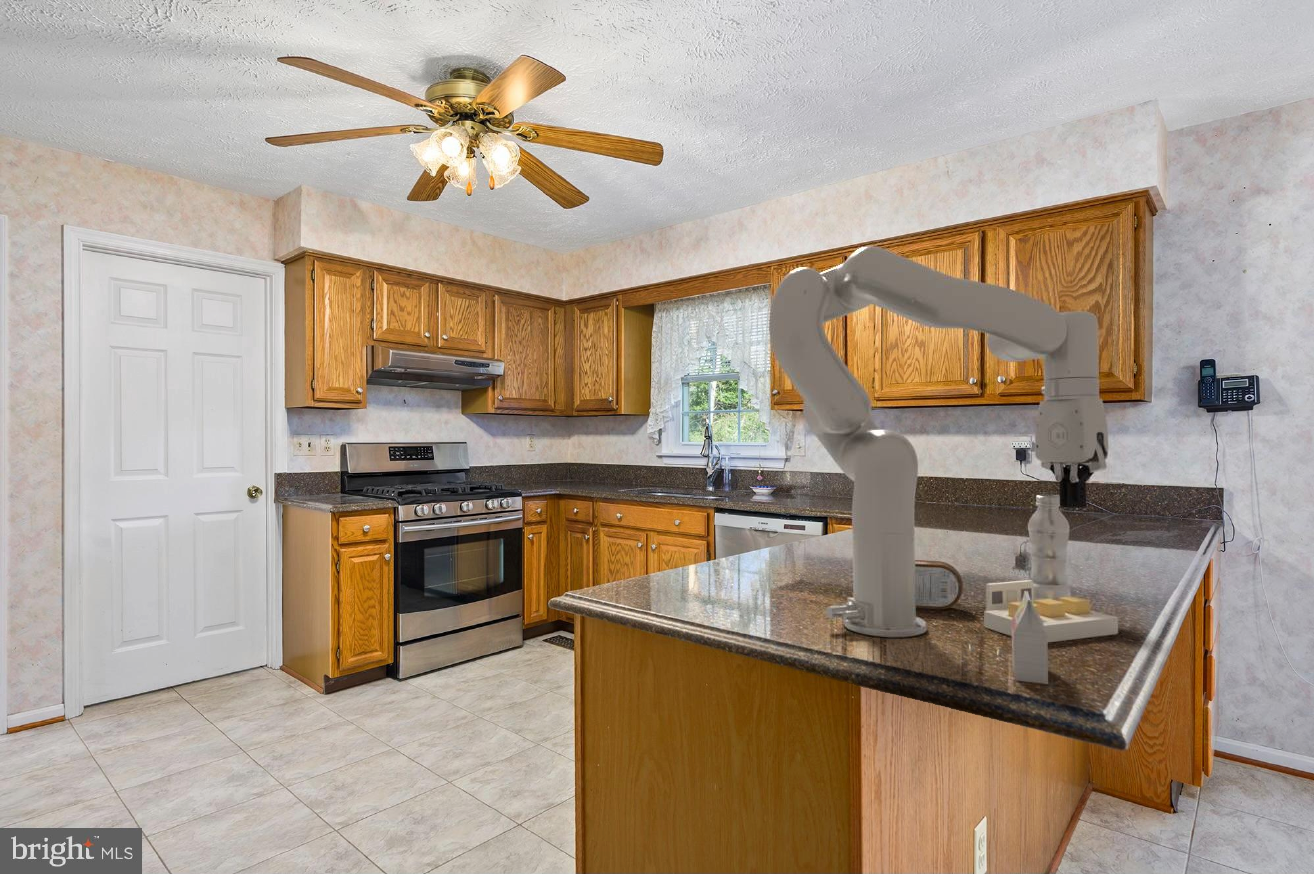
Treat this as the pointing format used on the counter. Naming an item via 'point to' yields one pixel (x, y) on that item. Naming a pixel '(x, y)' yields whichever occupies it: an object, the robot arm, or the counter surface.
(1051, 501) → the plastic bottle
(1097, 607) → the counter surface
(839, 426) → the robot arm
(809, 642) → the counter surface
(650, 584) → the counter surface
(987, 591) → the card
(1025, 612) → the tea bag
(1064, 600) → the button far
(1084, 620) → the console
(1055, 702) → the counter surface
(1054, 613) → the button mid
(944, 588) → the tin
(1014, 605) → the button near
